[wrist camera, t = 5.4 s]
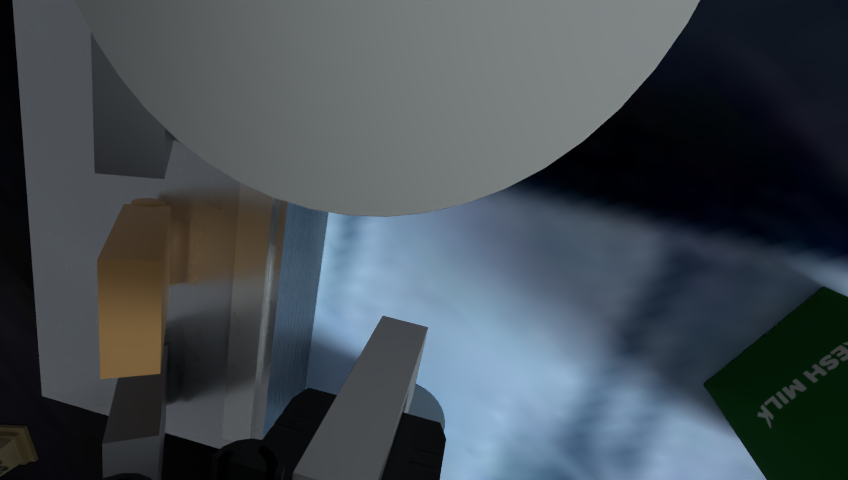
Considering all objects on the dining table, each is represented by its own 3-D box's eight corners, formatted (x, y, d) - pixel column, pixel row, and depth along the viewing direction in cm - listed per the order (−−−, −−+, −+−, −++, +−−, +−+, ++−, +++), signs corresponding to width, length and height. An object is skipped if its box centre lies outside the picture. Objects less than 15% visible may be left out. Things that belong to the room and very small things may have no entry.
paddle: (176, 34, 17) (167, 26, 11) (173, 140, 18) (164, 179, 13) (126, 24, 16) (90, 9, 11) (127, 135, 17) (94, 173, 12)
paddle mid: (172, 199, 19) (162, 260, 13) (170, 285, 20) (160, 373, 15) (127, 196, 18) (97, 259, 13) (127, 285, 19) (100, 379, 14)
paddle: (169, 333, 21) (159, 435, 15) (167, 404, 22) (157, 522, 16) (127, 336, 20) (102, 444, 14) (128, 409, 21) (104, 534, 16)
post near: (546, 25, 19) (964, -731, 2) (517, 142, 21) (610, 279, 4) (433, 4, 20) (-7, -745, 2) (413, 120, 21) (47, 147, 4)
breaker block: (351, 38, 21) (304, 13, 15) (302, 398, 26) (257, 465, 21) (116, -8, 22) (0, -45, 17) (120, 347, 28) (36, 399, 23)
